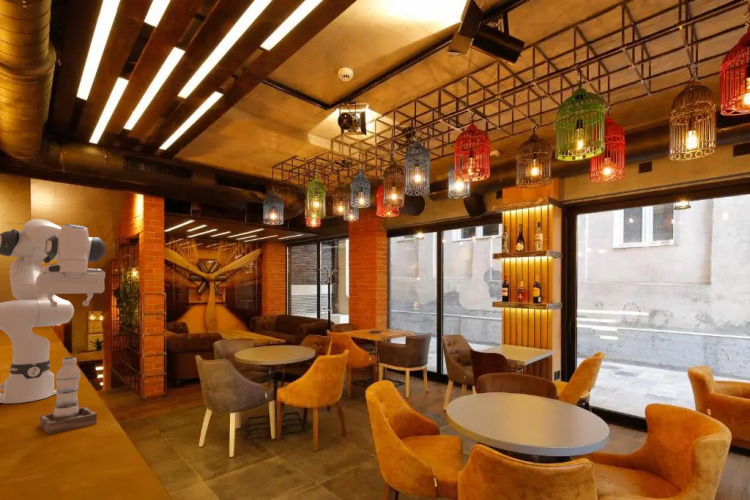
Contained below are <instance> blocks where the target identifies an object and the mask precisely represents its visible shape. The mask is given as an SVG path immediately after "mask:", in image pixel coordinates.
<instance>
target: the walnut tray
mask: <svg viewBox="0 0 750 500" xmlns="http://www.w3.org/2000/svg"><path fill="white" fill-rule="evenodd" d="M53 413H54V412H53ZM53 413H49V414H44V415H40V416H39V427H40V428H41V429H42V430H43V431H44V432H45V433H46V434H48V435H53V434H57V433H60V432H66V431H69V430H74V429H79V428H84V427H87V426H91V425H95V424H97V418H98V414H97V413H96V412H94V411H93V410H92V409H89V408H88V407H87V406H82V407H79V414H78V416H77V417H76V418H72V419H67V420H63V421H58V422H55V421H54V418H53Z"/></svg>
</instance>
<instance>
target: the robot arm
mask: <svg viewBox="0 0 750 500" xmlns="http://www.w3.org/2000/svg"><path fill="white" fill-rule="evenodd" d="M88 229H89V228H88V227H86V226H84V225H79V224H78V225H77V224H71V223H70V224H66V223H65V224H63V225H62V226H60V225H57V224H56V223H54V222H52V221H49V220H47V219H45V218H44V219H42V218H32V219H31V220H28V221H27V222H25V224H24V225H23V228H22V230H16V228H13V229H11V230H7V231H4V232H1V233H0V255H1V256H5V257H14V258H16V259H14V261H12V262H11V264H10V268H9V281H10V282H9V283H10V288H11V294H12V295H13V297H14V298H15V299H16V300H14V299H13V300H8V301H3V302H0V330H1V331H3V332H4V333H5V334H6V335H7V336H8V337H9V339H10V341H11V345H12V363H11V364H10V368H9V376H8V378H6V379H5V380H4V382H2V383H0V390H1V392H0V403H3V404H21V403H28V402H34V401H39V400H44V399H46V398H49V397H51V396H53V395H57V389H55V373H53V372H52V371H50V369H51V360H50V354H51V353H50V351H51V350H50V349H51V342H50V340H49V339H48V338H47V337H44V336H42V335H38V334H35V333H34V331H33V328H37V327H39V328H40V327H52V326H53V327H54V326H59V325H62V324H66V323H69V322H70V321H71V320H72V318H73V317H74V314H75V308H74V305H73V304H72V303H71V302H70V301H69V300H68V299H67V300H66V299H64V298H61V297H60V296H58V295H59V294H62V295H64V294H86V297H87V298H86V300H83V301H82V307H85V306H86V307H88V306H89V305H90V304H89V303H90V301H91V300H92V298H93V296H94V294H103V293H104V292H105V290H106V289H105V279H106V271H104V270H102V269H101V268H88V266H89V265H88V264H89V263H90V262H91V263H97V262H98V261H100V260H101V259H102V258H104V257H105V255H106V252H107V247H106V243H105V242H104V240H102V239H101V238H100V237H96V236H92V237H91V236H89V235H90V234H89V230H88ZM53 260H55V261H56V263H51V264H49V263H50V262H51V261H53ZM43 262H44V263H45V264H48V265H45V266H42V265H43ZM57 294H58V295H57Z"/></svg>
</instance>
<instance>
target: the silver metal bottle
mask: <svg viewBox="0 0 750 500" xmlns="http://www.w3.org/2000/svg"><path fill="white" fill-rule="evenodd" d="M77 363H78V362H77V356H70V357H69V356H68V357H63V358H62V361H61V365H62V366H61V367H60V368H59V370H57V372H56V374H55V382H56V383H55V384H56V390H57V394H56V400H55V406H54V410H53V418H54V421H55V422H58V421H63V420H67V419H72V418H76V417H77V416H78V414H79V408H80V407H79V400H78V390H79V385H80V379H81V374H82V373H81V370H80V369H79V367H78V366H77Z"/></svg>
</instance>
